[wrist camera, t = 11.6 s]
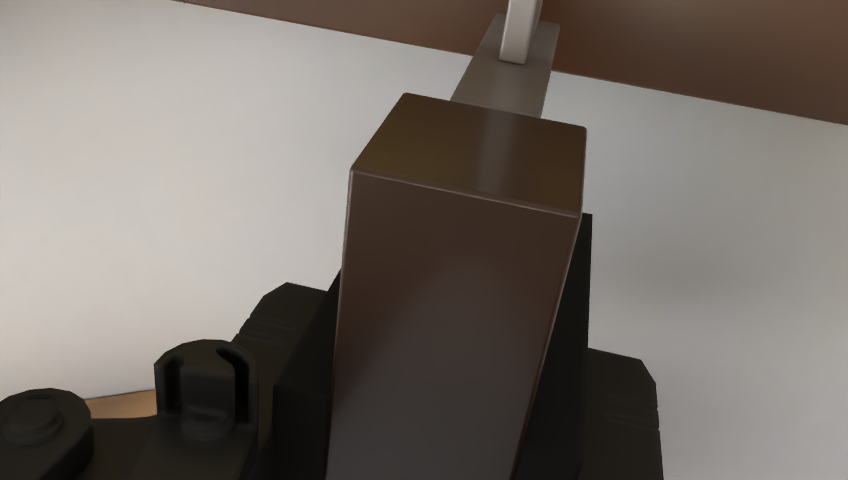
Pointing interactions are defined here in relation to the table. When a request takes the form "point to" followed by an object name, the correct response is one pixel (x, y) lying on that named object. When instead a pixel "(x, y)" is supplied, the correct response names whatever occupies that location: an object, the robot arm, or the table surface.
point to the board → (632, 42)
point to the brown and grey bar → (455, 268)
